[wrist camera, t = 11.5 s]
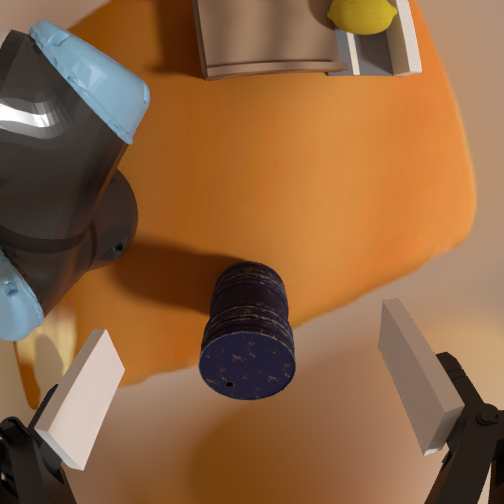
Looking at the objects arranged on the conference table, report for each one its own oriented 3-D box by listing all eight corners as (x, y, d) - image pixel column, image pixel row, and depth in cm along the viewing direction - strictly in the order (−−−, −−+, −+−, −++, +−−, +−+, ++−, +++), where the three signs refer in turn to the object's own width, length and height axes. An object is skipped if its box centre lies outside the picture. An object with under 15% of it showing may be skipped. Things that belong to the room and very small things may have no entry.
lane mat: (327, 75, 33) (328, 75, 32) (312, -11, 28) (312, -12, 28) (403, 76, 32) (404, 76, 32) (387, -7, 27) (388, -8, 27)
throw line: (352, 75, 32) (353, 74, 32) (336, -11, 28) (337, -12, 27) (359, 75, 32) (360, 74, 32) (342, -11, 28) (343, -12, 27)
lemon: (389, -6, 25) (324, -1, 28) (393, -17, 20) (318, -11, 24) (399, 35, 28) (334, 39, 31) (405, 30, 23) (330, 35, 26)
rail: (392, 75, 32) (409, 71, 27) (376, -8, 27) (390, -21, 23) (403, 76, 32) (422, 72, 27) (387, -7, 27) (402, -20, 23)
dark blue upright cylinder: (244, 246, 41) (238, 312, 27) (300, 288, 44) (318, 363, 30) (199, 297, 44) (178, 372, 31) (254, 333, 47) (253, 412, 33)
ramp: (210, 87, 33) (198, 78, 26) (198, 2, 29) (184, -24, 21) (340, 73, 32) (361, 62, 25) (324, -10, 28) (340, -37, 20)
